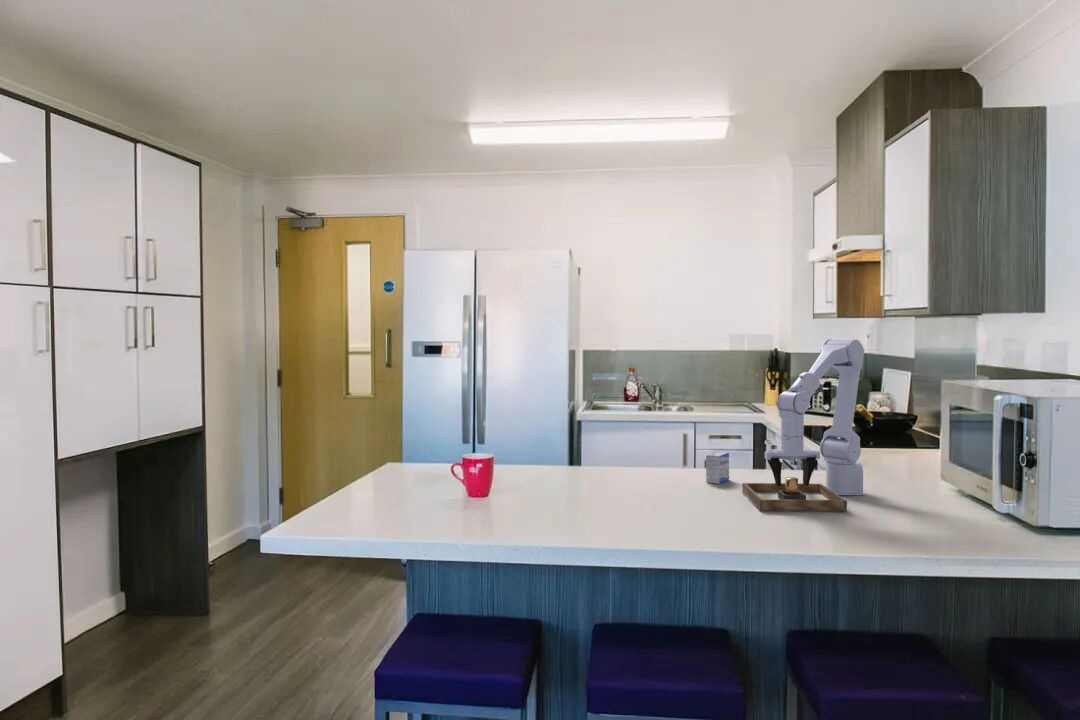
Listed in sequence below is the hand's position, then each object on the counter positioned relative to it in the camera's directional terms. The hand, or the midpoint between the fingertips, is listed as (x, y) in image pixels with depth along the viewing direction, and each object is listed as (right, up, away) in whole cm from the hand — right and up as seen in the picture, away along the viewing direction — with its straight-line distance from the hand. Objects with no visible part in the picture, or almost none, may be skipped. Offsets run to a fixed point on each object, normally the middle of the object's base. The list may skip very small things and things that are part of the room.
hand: (792, 485), depth 189 cm
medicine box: (-13, -4, +27) cm, 30 cm away
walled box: (0, -5, 0) cm, 5 cm away
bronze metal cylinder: (0, -4, 0) cm, 4 cm away
